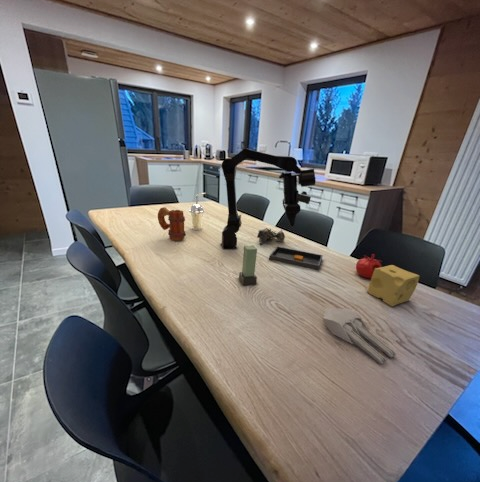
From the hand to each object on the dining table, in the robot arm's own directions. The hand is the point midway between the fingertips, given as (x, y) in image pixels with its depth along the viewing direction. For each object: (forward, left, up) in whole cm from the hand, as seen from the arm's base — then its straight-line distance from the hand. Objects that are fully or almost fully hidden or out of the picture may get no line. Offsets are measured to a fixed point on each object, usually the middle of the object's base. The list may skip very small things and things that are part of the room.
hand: (291, 223), depth 121 cm
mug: (-51, +26, -14) cm, 59 cm away
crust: (0, -11, -14) cm, 17 cm away
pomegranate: (+22, -29, -14) cm, 39 cm away
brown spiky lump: (-2, +15, -14) cm, 21 cm away
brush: (-29, -25, -14) cm, 41 cm away
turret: (-11, -61, -14) cm, 64 cm away
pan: (-1, -10, -14) cm, 18 cm away
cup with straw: (-36, +41, -14) cm, 57 cm away
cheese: (+17, -45, -14) cm, 50 cm away
